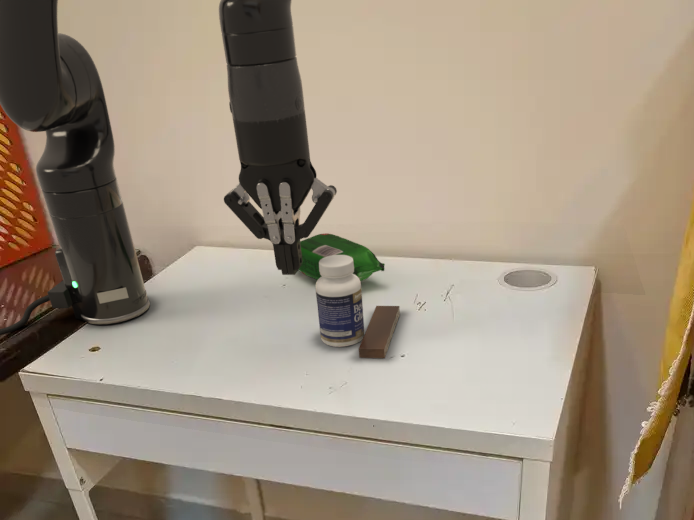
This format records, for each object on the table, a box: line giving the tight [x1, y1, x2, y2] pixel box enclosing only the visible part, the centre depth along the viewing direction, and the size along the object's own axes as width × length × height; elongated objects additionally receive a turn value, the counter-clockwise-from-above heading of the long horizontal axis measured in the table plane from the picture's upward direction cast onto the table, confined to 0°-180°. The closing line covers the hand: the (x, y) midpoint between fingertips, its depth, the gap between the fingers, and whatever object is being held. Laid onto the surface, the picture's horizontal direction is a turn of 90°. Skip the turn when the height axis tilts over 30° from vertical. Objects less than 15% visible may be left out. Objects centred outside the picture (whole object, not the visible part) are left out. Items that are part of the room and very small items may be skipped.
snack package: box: [298, 233, 386, 282], centre depth 102 cm, size 7×16×5 cm, turn 35°
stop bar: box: [358, 305, 401, 359], centre depth 88 cm, size 3×12×1 cm, turn 168°
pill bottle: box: [314, 255, 365, 348], centre depth 85 cm, size 5×5×10 cm
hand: (290, 272), depth 84 cm, fingers closed
